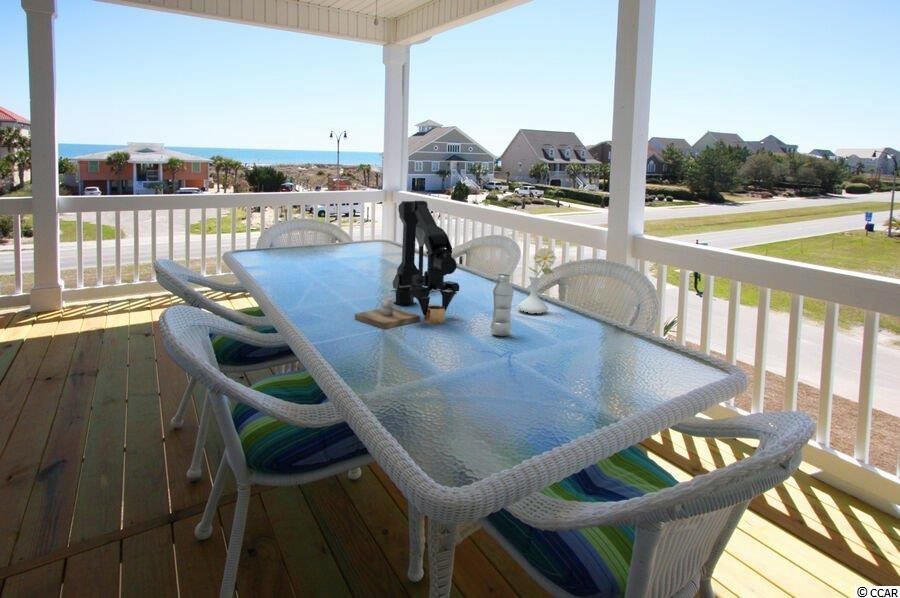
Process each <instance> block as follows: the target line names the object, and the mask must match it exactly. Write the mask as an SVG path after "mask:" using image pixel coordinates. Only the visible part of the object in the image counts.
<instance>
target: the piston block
mask: <svg viewBox="0 0 900 598" xmlns="http://www.w3.org/2000/svg"><path fill="white" fill-rule="evenodd" d="M381 301H382V303H381V304H382V307H381V308H379V309H373V310H368V311H367V310H366V311H363V312H358V313H354V320H355V321H359V322H362V323H365V324H367V325H371V326H373V327H375V328H379V329H382V330H387V329H392V328H396V327H400V326H406V325H411V324H415V323H419V322H421V315H419V314H415V313H412V312H408V311H405V310H402V309H399V308H396V307H394V299H393V298H390V297H386V298H385V297H384V298H382V300H381Z"/></svg>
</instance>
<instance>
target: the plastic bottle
mask: <svg viewBox="0 0 900 598" xmlns="http://www.w3.org/2000/svg"><path fill="white" fill-rule="evenodd" d="M510 281H511V274H507V273H499V274H498V275H497V284H495V286H494V287H493V290H492V291H493V292H492V295H493V312H492V313H493V315H492V320H491V325H490V332H491V334H492V335H493V336H498V337H506V336H509V335H510V334H511V331H512V321H511V319H512V318H511V317H512V316H511V315H512V314H511V311H512V309H511V308H512V302H513V299H514V298H513V297H514V293H515V291H514V288H513V286H512V284H511V283H510Z"/></svg>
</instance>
